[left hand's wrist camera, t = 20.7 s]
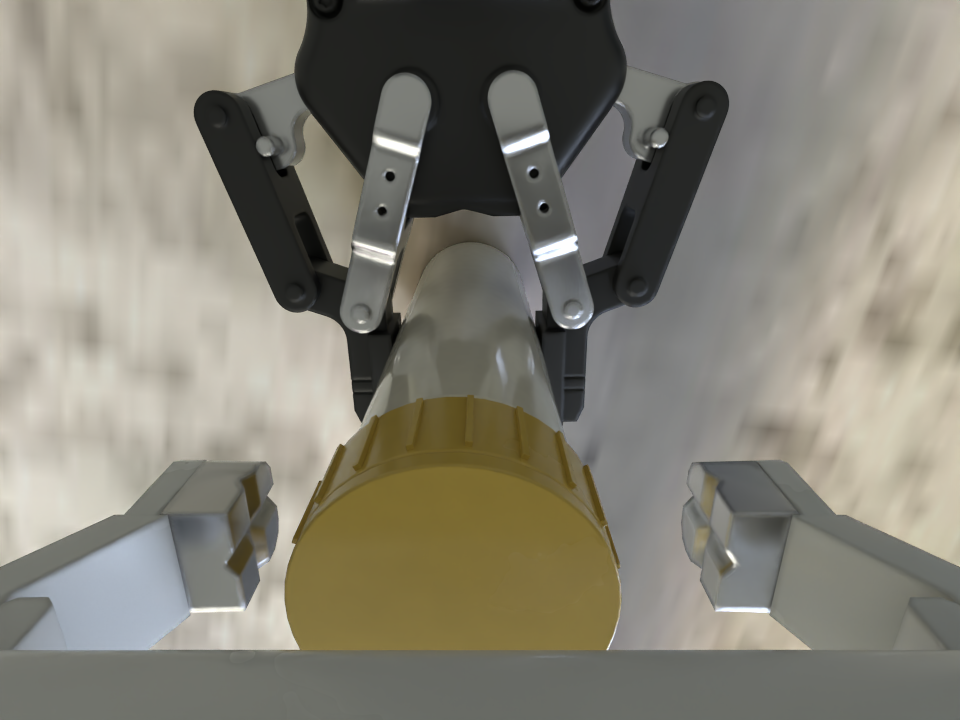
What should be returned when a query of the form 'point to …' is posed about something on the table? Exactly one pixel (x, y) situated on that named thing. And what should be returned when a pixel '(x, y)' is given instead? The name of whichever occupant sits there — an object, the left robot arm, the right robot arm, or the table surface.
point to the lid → (454, 538)
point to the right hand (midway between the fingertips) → (471, 426)
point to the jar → (468, 338)
